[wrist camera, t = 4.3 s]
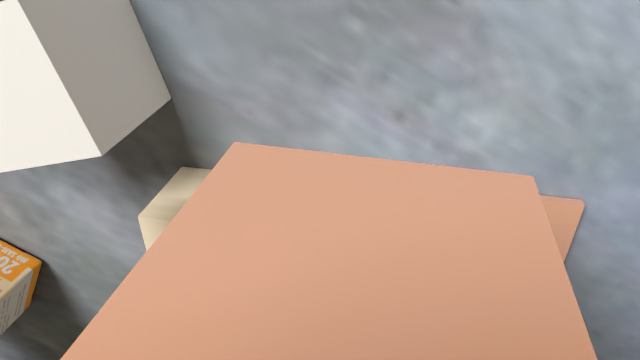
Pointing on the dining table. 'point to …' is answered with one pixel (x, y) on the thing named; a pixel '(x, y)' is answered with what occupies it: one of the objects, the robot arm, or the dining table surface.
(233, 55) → the dining table surface
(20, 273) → the supplement box
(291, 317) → the terracotta cube
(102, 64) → the off-white cube
